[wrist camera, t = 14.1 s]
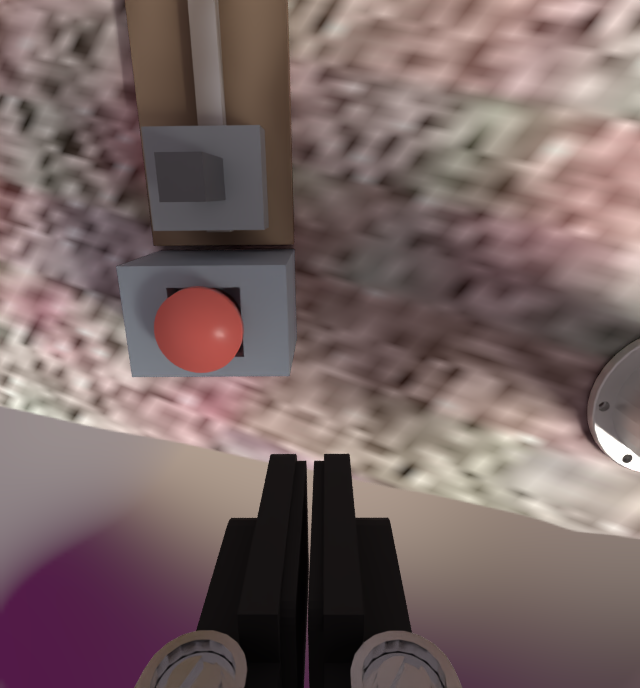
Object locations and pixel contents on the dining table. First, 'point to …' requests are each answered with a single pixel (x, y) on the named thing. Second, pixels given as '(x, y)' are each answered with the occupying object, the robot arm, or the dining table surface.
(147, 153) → the carriage
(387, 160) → the dining table surface
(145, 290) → the end cabinet
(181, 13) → the board
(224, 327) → the button
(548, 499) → the dining table surface
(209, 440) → the dining table surface
